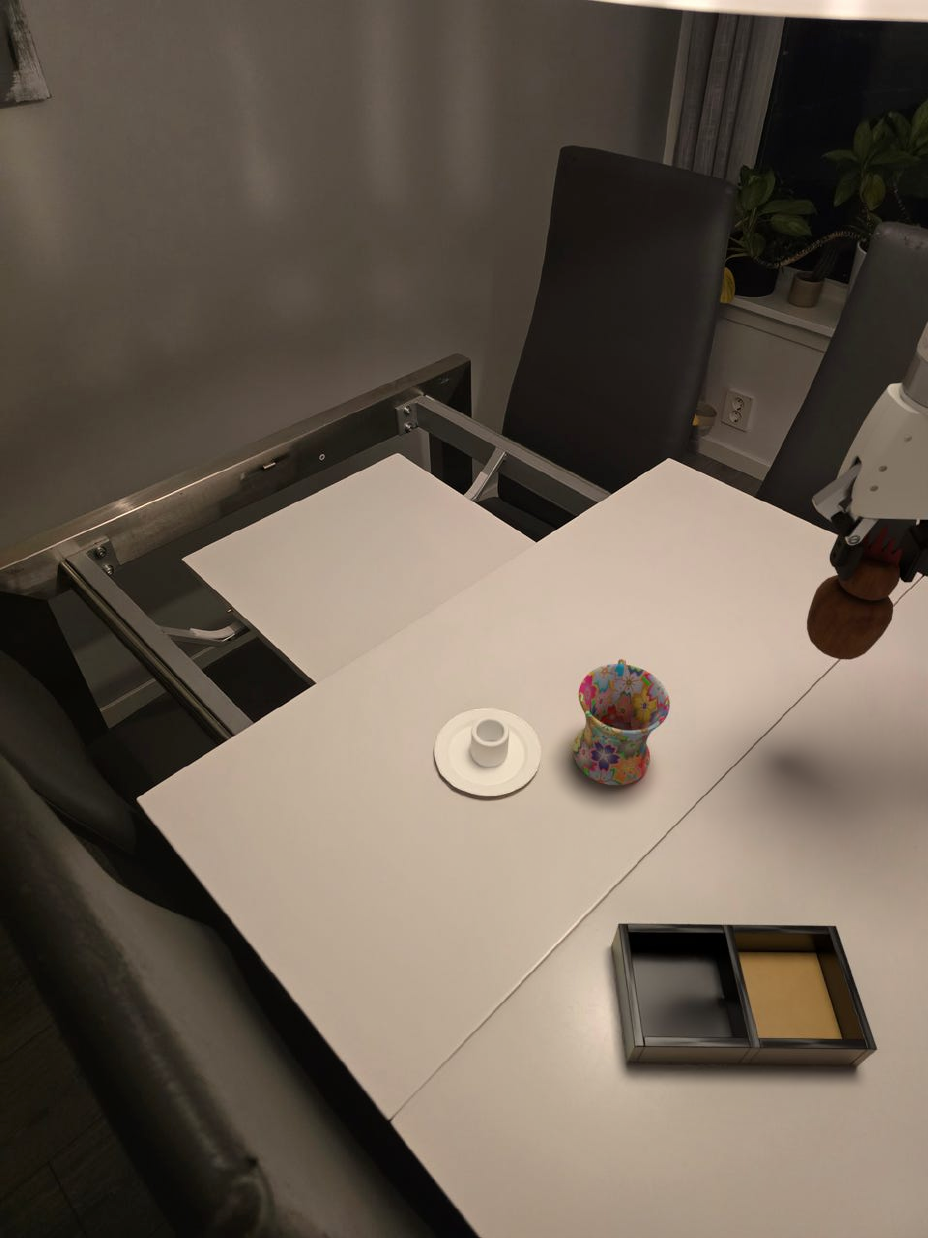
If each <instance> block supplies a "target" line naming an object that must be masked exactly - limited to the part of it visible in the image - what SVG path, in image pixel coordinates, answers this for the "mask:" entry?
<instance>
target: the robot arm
mask: <svg viewBox="0 0 928 1238" xmlns="http://www.w3.org/2000/svg"><path fill="white" fill-rule="evenodd" d="M849 496H851V499H852V500H851V501H850V502H849V504H848V505H847V506H846V508H844V507H843V505H842V504H840V503H841V502H842V501H844V500H845V499H847V498H848V497H849ZM811 501H812V503H813V506H814V507H815V509H816V511H817V512H818V513H819V514H820V515H822V516H823V517H824V518H825V519H827V520H829V521H830V522H831V523H832V525H833V526H834V527H835V529H836V530H837V531H838V534H837V537H836V539H835V541H834V543H833V546H832V548H831V550H830V553H829V563H830V566H831V567H833V568H834V571H835V572H836V575H838V576H839V579H840V581H848V580H850V579H851V577H852V575H853V573H854V570H855V568H856V566H857V564H858V562H859V560H860V558H861V556H862V553H863V551H864V545H863V543H862V539H863V538H864V537H865V536H866V534H867V533H868V532H869V531H870V532H871V529H872V528H873V527H874V526H875V524H876V523H877V522H878V521H879V520H880V519H885V520H886V519H889V520H891V519H892V520H916V525H908V528H906V529H905V531H904V532H903V535H902V537H901V539H900V541H899V543H898V544H897V547H896V549H897V548H898V547H902V552H901V557H900V561H899V567H900V581H902V582H903V583H909V584H910V583H911V584H912V583H913V581H914V579H915V578H916V575H917V574H918V572H919V570H920V569H921V568H922V567H923V566H924V564H925V562H926V559H927V558H928V321H927V322H926V324H925V327H924V329H923V331H922V334H921V335H920V338H919V341H918V343H917V346H916V348H915V350H914V353H913V355H912V357H911V360H910V362H909V363H908V367H907V369H906V372H905V374H904V376H903V378H902V381H901V382H897V383H890V384H889V385H888V386H887V387H886V389H885V390H884V391H883V393H882V394H881V395H880V397H879V398H878V399H877V400H876V402H875V404H874V405H873V406H872V407H871V410H870V411H869V413H868V414H867V416H866V418H865V419H864V421H863V423H862V424H861V427H860V428H859V430H858V432H857V434H856V436H855V437H854V440H853V441H852V443H851V445H850V447H849V449H848V451H847V454H846V456H845V457H844V460H843V461H842V464H841V466H840V469H839V471H838V473H837V477H836V479H834V480H833V481H832V482H830V483H829V484H828V485H826V486H825V487H823V489H821V490H819V491H818V492H817V493H815V494H814V495H813V496H812V498H811Z"/></svg>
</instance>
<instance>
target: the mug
mask: <svg viewBox="0 0 928 1238" xmlns="http://www.w3.org/2000/svg"><path fill="white" fill-rule="evenodd" d="M578 701H579V704H580V707H581V709H582V711H583V713H584V717H585V725H584V728H582V729H581V730H580V731H579V732H578V734H577V735H576V737H575V739H574V742H573V746H572V751H573V757H574V760H575V762H576V764H577V766H578V767H579V769H580V770H581V771H582V772H583V773H584V774H585V775H586V776H587V777H589V778H591V779H592V780H595V781H596V782H598V783H601V784H605V785H608V786H624V785H628V784H631V783H634V782H636V781H637V780H639V779H640V778H641V777H642V776H644V774H645V773H646V772H647V770H648V768H649V765H650V761H651V754H650V749H649V746H648V744H647V743H648V738H649V737H650V735H651V734H652V732H653V731H654V730H656V729H657V728H659V727H660V726H661V725H662V724H663V723H664V722H665V721H666V719H667V717H668V714H669V712H670V707H671V706H670V705H671V704H670V703H671V701H670V697H669V693H668V690H666V688H665V686H664V684H663V683H662V682H661V680H659V679H658V678H657V677H656V676H654V675H653V674H651V673H650V672H649V671H647V670H645V669H642V668H640V667H637V666H634V665H630V664H627V661H626V659H622V658H621V659H619V660H618V661H617V663H612V664H606V665H601V666H599V667H597V668H595V669H593V670H591V671H590V672H589V673H587V675H586V676H585V677H584V678H583V679H582V681H581V682H580V685H579V688H578Z"/></svg>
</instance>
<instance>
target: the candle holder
mask: <svg viewBox="0 0 928 1238" xmlns="http://www.w3.org/2000/svg"><path fill="white" fill-rule="evenodd" d="M436 736H437V737H436V738H435V741H434V747H433V748H434V749H433V755H434V760H435V764H436V767H437V769H438V772H439V773H440V775H441V776H442V777H443V778H444V779H445V780H446V781H447V782H448V783H449V784H450V785H451V786H453V787H454V788H456V789H457V790H460V791H462V792H465V793H468V794H472V795H475V796H480V797H497V796H503V795H508V794H510V793H513V792H515V791H517V790H519V789H520V788H522V787H524V786H525V785H527V783H528V782H530V780H531V779H533V777H534V776H535V775H536V773H537V771H538V769H539V767H540V765H541V760H542V748H541V743H540V740H539V737H538V735H537V733H536V732H535V730H534V729H533V728H532V726H531V725H530V724H529V723H528V722H527V721H526V720H525V719H523V718H521V717H520V716H518V715H517V714H514V713H512V712H509V711H507V710H504V709H500V708H494V707H480V708H474V709H473V708H472V709H469V710H466V711H463V712H461V713H458V714H457V715H455V716H453V717H452V718H451V719H449V720H448V721H447V722H446V723H445V724H444V725H443V726H442V727H441V729H440V730H439V732H438V734H437V735H436Z"/></svg>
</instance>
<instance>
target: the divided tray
mask: <svg viewBox="0 0 928 1238" xmlns="http://www.w3.org/2000/svg"><path fill="white" fill-rule="evenodd" d="M837 927H838V926H837V925H812V924H811V925H809V924H808V925H803V924H797V925H796V924H795V925H794V924H724V923H723V924H720V923H719V924H714V923H713V924H711V923H709V924H708V923H707V924H706V923H638V922H637V923H632V922H631V923H630V922H629V923H620V922H619V923H618V924H617V927H616V930H615V934H614V936H613V939H612V942H611V944H610V945H611V952H612V953H611V954H612V961H613V969H614V976H615V985H616V993H617V1000H618V1009H619V1017H620V1026H621V1032H622V1041H623V1049H624V1056H625V1064H626V1065H645V1066H647V1065H654V1066H655V1065H656V1066H725V1067H726V1066H727V1067H728V1066H732V1067H735V1066H737V1067H748V1066H749V1067H815V1068H817V1067H818V1068H857V1067H859V1066H860V1065H861V1064H863V1063H864V1062H865V1061H866V1060H867V1059H868V1058H870V1057H871V1056H872V1055H873V1054H874V1053H875V1052H876V1051H878V1047H877V1044H876V1041H875V1038H874V1035H873V1032H872V1029H871V1025H870V1023H869V1019H868V1017H867V1014H866V1011H865V1009H864V1008H865V1007H864V1005H863V1002H862V999H861V996H860V993H859V991H858V987H857V984H856V981H855V978H854V975H853V973H852V969H851V966H850V964H849V961H848V957H847V955H846V951H845V948H844V945H843V943H842V939H841V937H840V933H839V930H838V928H837Z"/></svg>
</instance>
